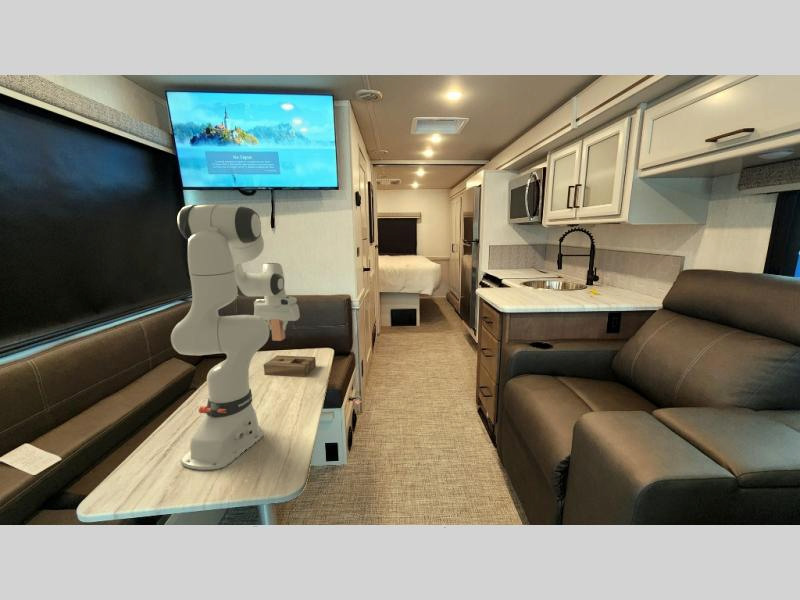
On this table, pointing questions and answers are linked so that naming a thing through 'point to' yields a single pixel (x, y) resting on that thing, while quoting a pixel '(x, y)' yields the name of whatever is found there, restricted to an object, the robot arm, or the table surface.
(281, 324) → the square peg
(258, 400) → the table surface
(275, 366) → the socket block
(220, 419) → the robot arm
